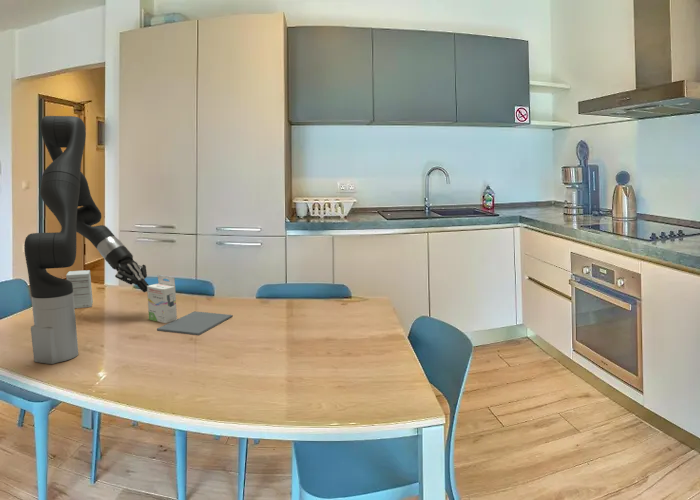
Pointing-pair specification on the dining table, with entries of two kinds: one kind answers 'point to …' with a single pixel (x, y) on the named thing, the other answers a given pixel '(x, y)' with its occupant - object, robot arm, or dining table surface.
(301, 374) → the dining table surface
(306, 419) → the dining table surface
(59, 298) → the robot arm
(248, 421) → the dining table surface
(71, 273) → the supplement box
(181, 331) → the mat
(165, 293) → the ink box
